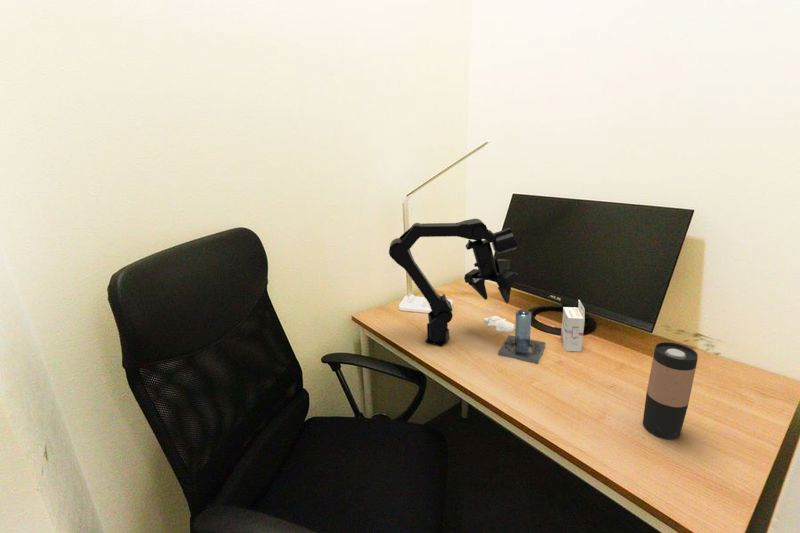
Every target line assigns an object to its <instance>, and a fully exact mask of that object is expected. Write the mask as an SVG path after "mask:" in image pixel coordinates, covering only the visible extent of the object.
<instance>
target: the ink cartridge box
mask: <svg viewBox="0 0 800 533" xmlns="http://www.w3.org/2000/svg"><path fill="white" fill-rule="evenodd" d="M577 304H578V307H575V306H573V307H571V306H563V307H562V308H563V309H562V321H561V330H560V340H561V342H562V344H563V347H564V350H565V352H579V353H580V352H582V349H583V342H584V340H583V339H584V332H585V331H584V330H585V322H586V320H585V319H586V317H585V316H586V315H585V314H586V311H585V310H586V309H585V307H584V305H583V303H582V301H581V300H580V299H578V303H577Z"/></svg>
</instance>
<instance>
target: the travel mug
mask: <svg viewBox="0 0 800 533" xmlns="http://www.w3.org/2000/svg"><path fill="white" fill-rule="evenodd" d="M652 357H653V358H652V361H651V368H650V373H649V378H648V383H647V388H646V394H645V402H644V409H643V417H642V424H643V427H644V429H645V430H646V431H648V432H649V434H651V435H654V436H655V437H658V438H660V439H664V440H677V439H678V438H679V437H680V436H681V433H682V430H683V427H684V422H685V417H686V415H687V411H688V408H689V407H688V406H689V402H690V399H691V393H692V389H693V383H694V378H695V374H696V369H697V363H698V358H699V357H698V353H697V352H696V350H694V349H693V348H691V347H688V346H686V345H683V344H681V343H676V342H670V341H667V342H660V343H657V344H656V345H655V346H654V350H653V355H652Z"/></svg>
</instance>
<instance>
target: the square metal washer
mask: <svg viewBox="0 0 800 533" xmlns="http://www.w3.org/2000/svg"><path fill="white" fill-rule="evenodd" d="M513 347H515V335H511V334H508V335H507V337H506V338H505V340H504V341H503V344H501V346H500V348H499V349H498V351H497V355H498V356H501V357H506V358H511V359H514V360H518V361H524V362H527V363H532V364H537V365H538V364H539V362H540V359H541V358H542V355H543V353H544V350H545V347H546V342H544V341H540V340H534V339H531V338H530V349H532V350H531V351H529V352H528V353H522V352H517V351H515V350H514V349H513Z"/></svg>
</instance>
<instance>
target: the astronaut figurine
mask: <svg viewBox="0 0 800 533" xmlns="http://www.w3.org/2000/svg"><path fill="white" fill-rule="evenodd" d="M483 322H484V323H485V324H487V326H486V327H487V328H495V331H496V333H497V332H498V333H512V332H513V331H514V332H515V324H514V323H511V322H510V321H508V320H507V319H506V318H501V317H500V316H498V315H492V316H490V317H485V318H483Z"/></svg>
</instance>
